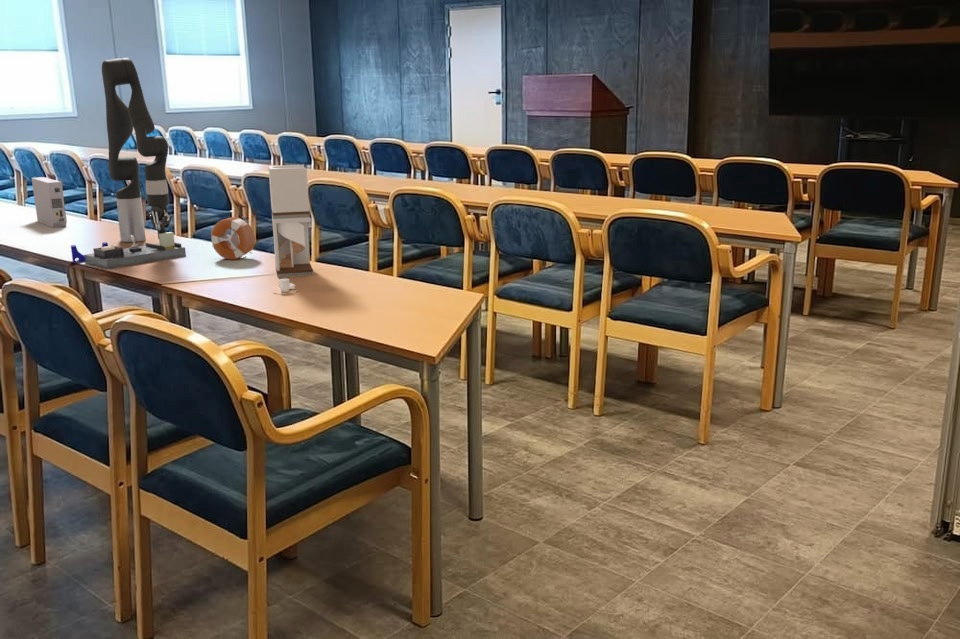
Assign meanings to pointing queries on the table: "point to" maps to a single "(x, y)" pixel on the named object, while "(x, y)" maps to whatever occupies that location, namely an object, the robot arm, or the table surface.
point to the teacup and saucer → (285, 285)
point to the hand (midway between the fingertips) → (162, 239)
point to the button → (108, 247)
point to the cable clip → (78, 255)
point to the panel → (133, 255)
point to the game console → (49, 201)
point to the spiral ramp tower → (290, 219)
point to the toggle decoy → (133, 242)
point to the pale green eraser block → (166, 239)
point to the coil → (232, 238)
